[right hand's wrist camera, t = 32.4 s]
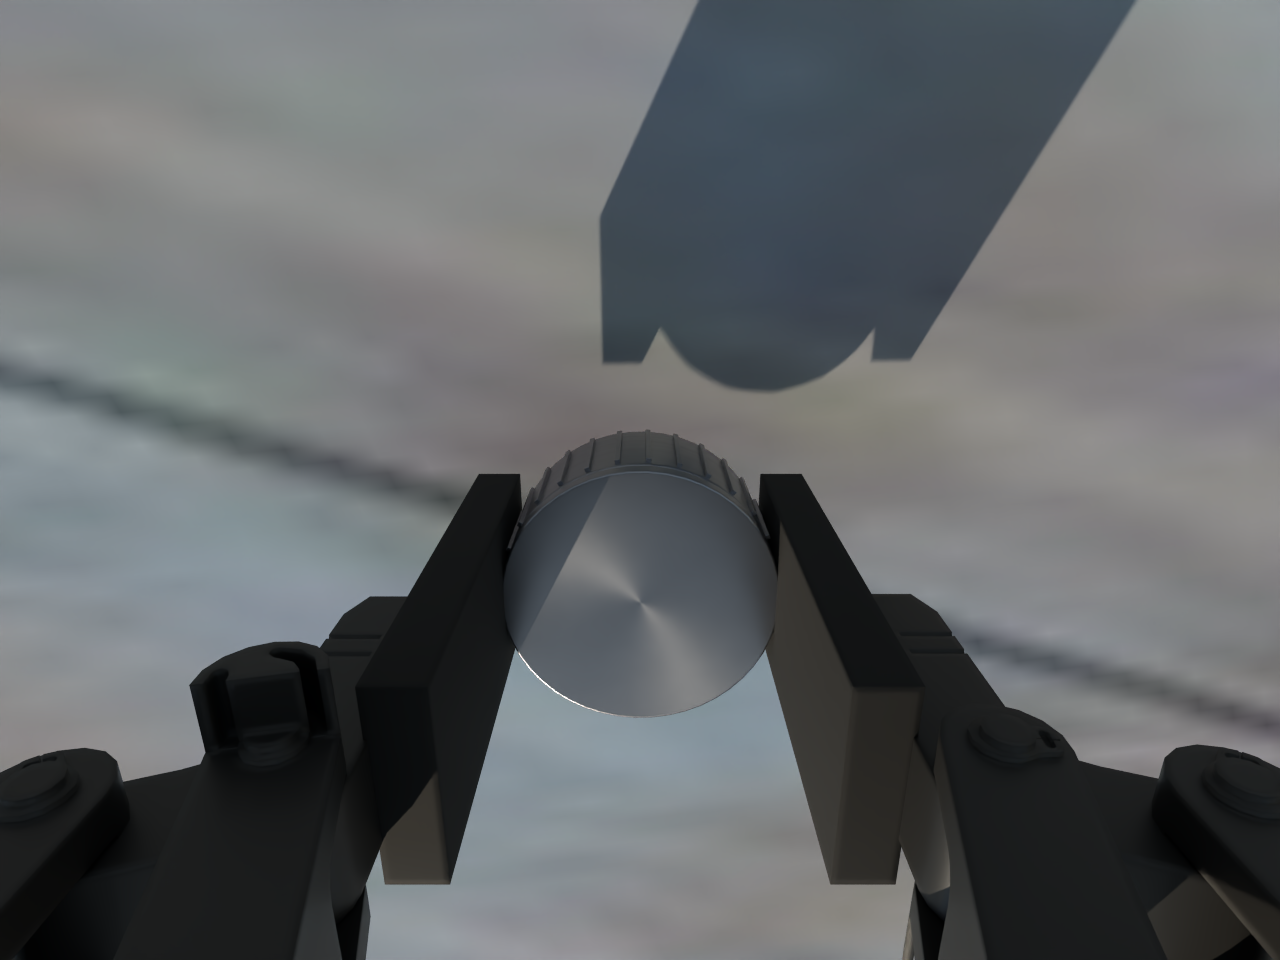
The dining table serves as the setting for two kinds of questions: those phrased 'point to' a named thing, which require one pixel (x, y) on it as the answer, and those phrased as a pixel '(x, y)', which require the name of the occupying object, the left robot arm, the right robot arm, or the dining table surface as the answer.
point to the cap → (640, 576)
